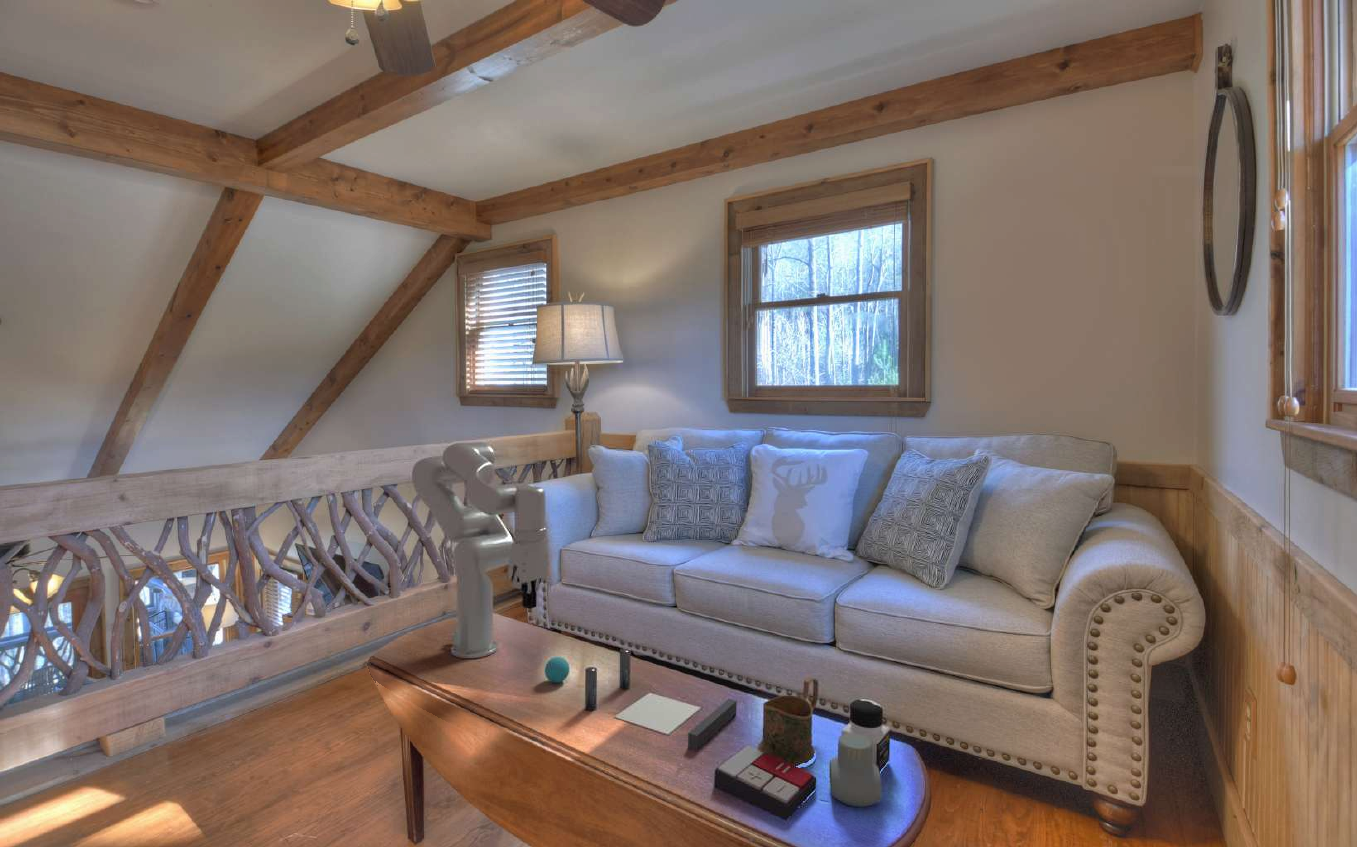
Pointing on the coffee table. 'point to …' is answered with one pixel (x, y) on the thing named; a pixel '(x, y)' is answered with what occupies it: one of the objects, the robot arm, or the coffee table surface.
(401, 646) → the coffee table surface
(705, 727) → the wall
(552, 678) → the ball
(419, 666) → the coffee table surface
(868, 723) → the medicine bottle
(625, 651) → the post
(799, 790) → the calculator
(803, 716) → the mug
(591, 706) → the post
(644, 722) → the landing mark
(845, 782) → the air freshener
